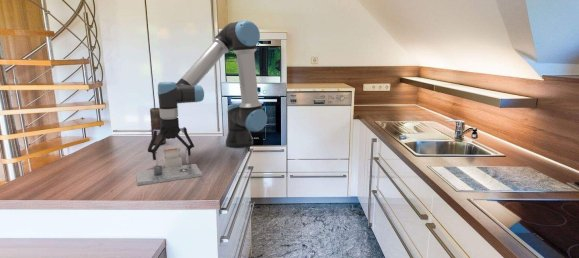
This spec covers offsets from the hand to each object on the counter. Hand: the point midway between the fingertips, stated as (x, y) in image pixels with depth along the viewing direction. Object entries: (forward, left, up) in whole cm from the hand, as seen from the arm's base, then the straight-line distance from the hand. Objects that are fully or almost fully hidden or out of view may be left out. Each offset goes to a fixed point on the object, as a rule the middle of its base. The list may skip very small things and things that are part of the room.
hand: (172, 164), depth 148 cm
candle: (+2, -44, 0) cm, 44 cm away
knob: (0, 0, 0) cm, 0 cm away
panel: (+3, +13, 0) cm, 13 cm away
